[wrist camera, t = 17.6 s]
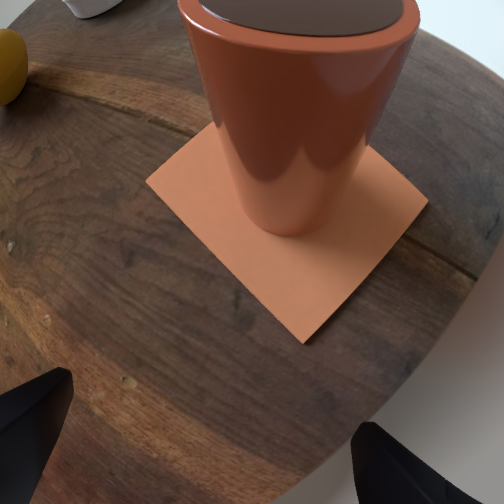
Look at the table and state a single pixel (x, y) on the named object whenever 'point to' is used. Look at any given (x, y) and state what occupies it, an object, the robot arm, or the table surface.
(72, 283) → the table surface
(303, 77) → the terracotta pot
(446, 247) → the table surface
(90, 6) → the ramekin
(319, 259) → the terracotta mat
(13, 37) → the apple
